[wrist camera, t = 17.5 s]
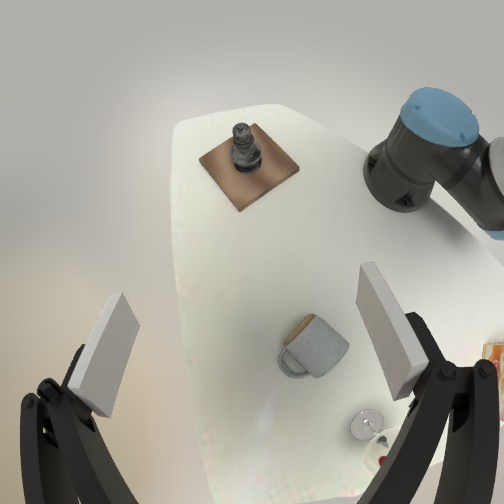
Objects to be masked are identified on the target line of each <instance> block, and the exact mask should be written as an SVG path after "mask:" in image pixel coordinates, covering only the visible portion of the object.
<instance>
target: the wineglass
mask: <svg viewBox="0 0 504 504" xmlns="http://www.w3.org/2000/svg"><path fill="white" fill-rule="evenodd" d="M382 425H383V417H382V415H381V414H380V413H379V412H378V411H376V410H366V411H363V412H361V413H360V414H358V415H357V416H356V417H355V418H354V419H353V421H352V423H351V427H350V430H351V433H352V435H353V436H354V437H355V438H357V439H360V440H366V439H369V438H371V437H373V436H374V437H373V438H372V439H371V440H370V441H369V443H368V444H367V446H366V448H365V451H364V464H365V466H366V468H367V469H368V471H369V472H371V473H372V474H373V475H376V473H377V472H378V470H379V468H380V467H381V465H382V463H383V462H384V460H385V458H386V456H387V454H388V453H389V451H390V449H391V447H392V445H393V443H394V441H395V439H396V437H397V435H398V433H399V431H400V429H401V427H393V428H388V429H385V430H383V431H381V432H379V431H380V429H381V427H382ZM378 432H379V433H378Z"/></svg>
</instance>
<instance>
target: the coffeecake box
mask: <svg viewBox="0 0 504 504" xmlns="http://www.w3.org/2000/svg"><path fill="white" fill-rule="evenodd" d="M482 359H487V360H490V361H491V362H492V363H493V364H494V365H495V366H496V369H497V376H498V387H499V409H500V420H502V421H504V342H499V343H490V344H484V349H483V357H482Z"/></svg>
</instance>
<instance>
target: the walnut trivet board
mask: <svg viewBox="0 0 504 504" xmlns="http://www.w3.org/2000/svg"><path fill="white" fill-rule="evenodd" d="M249 127H250V131H251V134H252V135H253V137H254V141H256V142H257V143H259V145H260V146H261V148H262V155H261V160H262V163H261V166H260V168H259V169H258V170H257V171H255V172H253V173H250V174H244V173H241V172H239V171H238V170H237V169H236V168H235V165H234V162H233V161H232V159H231V157H230V149H231V147H232V146H233V145H234V144H233V138H234V136H233V137H231V138H230V139H228V140H226V141H225V142H223V143H222V144H220V145H219V146H217V147H216V148H214V149H213V150H211V151H210V152H208V153H207V154H205V155H204V156H202V157H201V158H199V161H200V163H201V164H202V165H203V167H204V168H205V169H206V170H207V172H208V173H209V174H210V175H211V177H212V178H213V179H214V180H215V181H216V183H217V184H218V185H219V187H220V188H221V189H222V190H223V192H224V193H225V194H226V195H227V197H228V198H229V199H230V200H231V202H232V203H233V204H234V205H235V207H236V208H237V209H238V210H239V212H240V211H242V210H243V209H245V208H246V207H247V206H249V205H250V204H252V203H253V202H255V201H256V200H257V199H259V198H260V197H262V196H263V195H264V194H266V193H267V192H269V191H270V190H272V189H273V188H275V187H276V186H277V185H279V184H280V183H282V182H283V181H285V180H286V179H288V178H289V177H291V176H292V175H294V174H295V173H297V172H298V171H299V166H298V165H297V164H296V163H295V162H294V161H293V160H292V159H291V158H290V157H289V156H288V155H287V154H286V153H285V152H284V151H283V150H282V149H281V148H280V147H279V146H278V145H277V144H276V143H275V142H274V141H273V140H272V139H271V138H270V137H269V136H268V135H267V134H266V133H265V132H264V131H263V130H262V129H261V128H260V127H259V126H258V125H257V124H256V123H254V124H253V125H251V126H249Z"/></svg>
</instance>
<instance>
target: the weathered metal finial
mask: <svg viewBox="0 0 504 504" xmlns="http://www.w3.org/2000/svg"><path fill="white" fill-rule="evenodd" d="M233 136H234V138H233V144H234V145H233V146H232V147H231V149H230V157H231V159H232V161H233V162H234V165H235V168H236V169H237V170H238V171H239V172H241V173H244V174H250V173H253V172H255V171H257V170H258V169H259V168H260V166H261V163H262V160H261V155H262V148H261V146H260V145H259V143H257V142H256V141H254V137H253V135H252V134H251V131H250V127H249V126H248V125H247V124H245V123H238V124H236V125H235V126H234V127H233Z"/></svg>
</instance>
